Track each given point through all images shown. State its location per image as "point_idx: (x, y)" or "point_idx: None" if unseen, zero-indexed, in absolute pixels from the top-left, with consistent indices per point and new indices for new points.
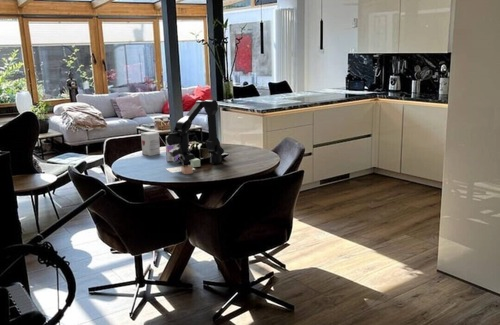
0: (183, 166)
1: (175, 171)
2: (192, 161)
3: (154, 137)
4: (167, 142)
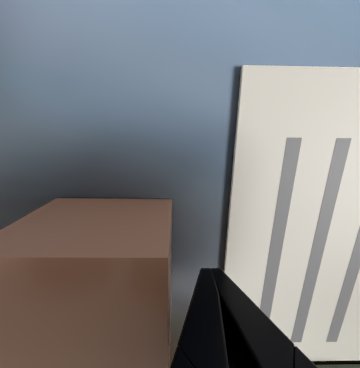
0: (96, 284)
1: (270, 148)
2: None
3: None
4: None
